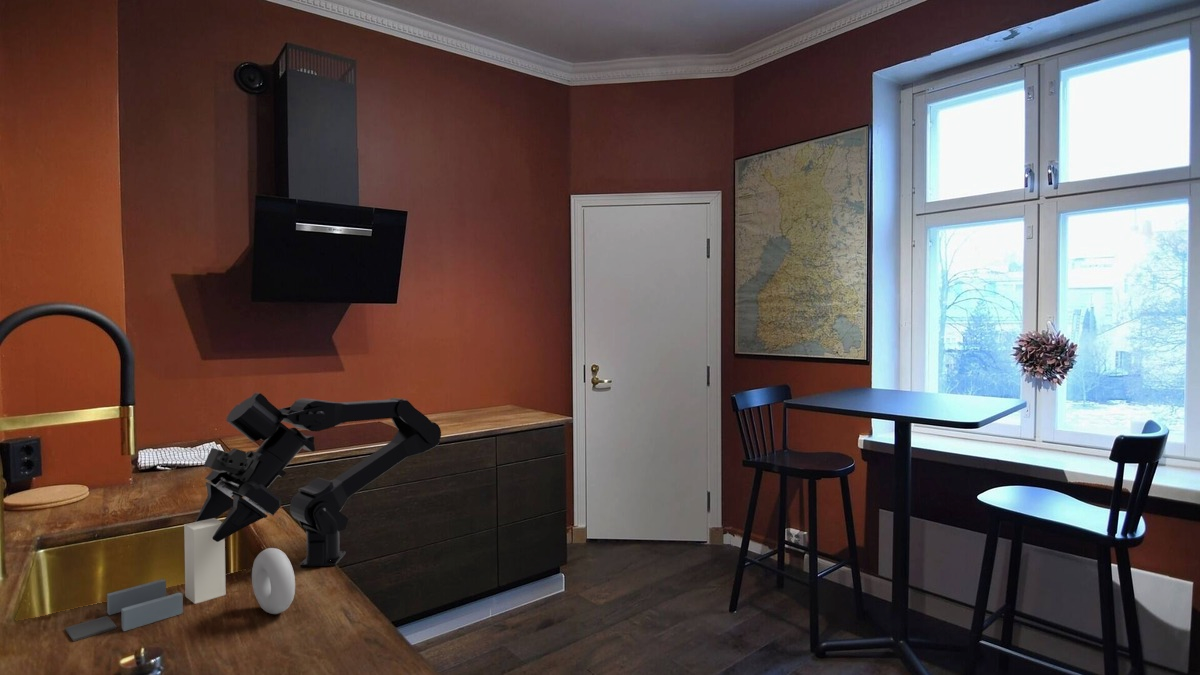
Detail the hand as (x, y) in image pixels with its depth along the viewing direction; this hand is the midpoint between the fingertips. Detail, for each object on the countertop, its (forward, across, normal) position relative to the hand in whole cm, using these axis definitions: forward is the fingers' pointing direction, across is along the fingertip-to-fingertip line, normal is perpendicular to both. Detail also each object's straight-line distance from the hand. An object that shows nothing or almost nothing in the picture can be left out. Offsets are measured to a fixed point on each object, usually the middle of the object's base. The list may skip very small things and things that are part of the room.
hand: (204, 534), depth 104 cm
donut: (+4, +15, +11) cm, 19 cm away
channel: (+13, 0, +1) cm, 13 cm away
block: (+7, 0, +7) cm, 10 cm away
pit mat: (+18, 0, -4) cm, 18 cm away
